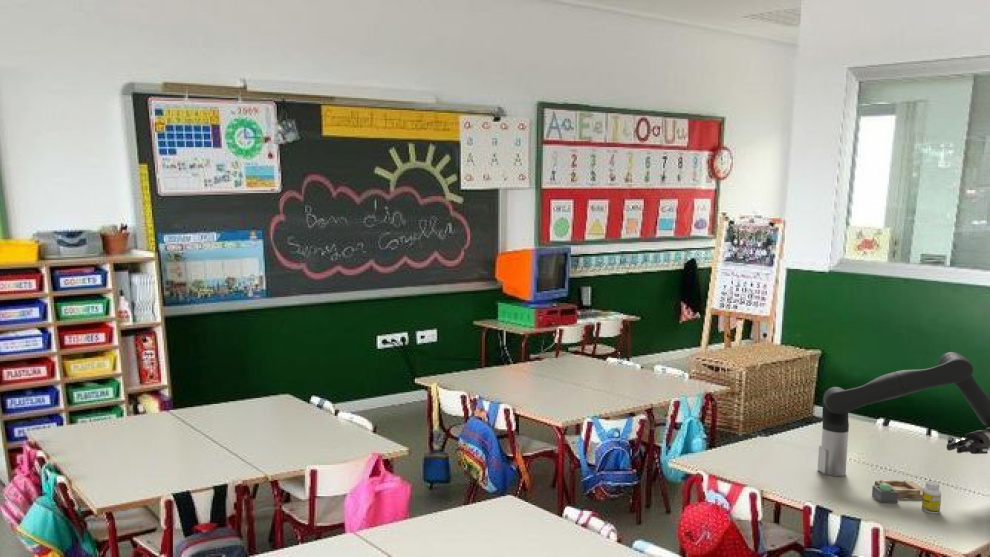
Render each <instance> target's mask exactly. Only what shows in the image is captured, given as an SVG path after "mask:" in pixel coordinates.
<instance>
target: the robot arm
mask: <svg viewBox="0 0 990 557" xmlns="http://www.w3.org/2000/svg"><path fill="white" fill-rule="evenodd" d="M973 373H974V366H973V364H972V363H971V362H970V361H969V360H968V359H967V358H966V357H965V356H963V355H962V354H960V353H958V352H955V351H949V352H945V353H943V354H942V355H941V356H940V357H939V360H938V365H936V366H933V367H928V368H924V369H923V368H921V369H902V370H897V371H893V372H889V373H886V374H882V375H880V376H877V377H875V378H874V379H872V380H870V381H869V382H866V383H865V384H863V385H860V386H856V387H852V388H849V389H844V388H843V387H839V386H832V387H830V388H828V389H827V390H825V392H824V394H823V397H822V418H821V420H822V431H821V445H819V446H818V457H817V458H818V460H817V470H818V472H819V471H820V473H822V474H823V475H826V476H832V477H833V476H834V477H843V476H846V473H847V460H848V458H847V456H848V446H849V445H848V442H849V431H850V430H849V427H850V424H849V413H850V412H851V411H855V410H857V409H860V408H862V407H865V406H867V405H873V404H876V403H880V402H884V401H888V400H889V401H890V400H893V399H897V398H901V397H904V396H907V395H910V394H913V393H918V392H921V391H924V390H928V389H931V388H936V387H940V386H946V385H952V384H955V385H956V387H957V388H958V390H959V391H960V392H961V394H962V395H963V397H964V398H965V400H966V401H967V403H968V404H969V406H970V408H971V409H972V410H973V412H974V413H975V415H976V416H977V418H978V419H979V421H980V422H981V423H982V424H983V425H985V426H986V428H985V429H980V430H979V429H978V430H976V431H975V430H974V431H972V432H968V433H965V434H964V435H963V436H962V438H961V437H960V438H956V439H955V438H954V437H953V436H950V435H949V436H948V437H947V444H946V450H947V451H954V450H956V454H962V453H969V454H972V455H981V454H984V455H986V454H987V455H988V452H990V397H989V396H988V394H987V393H986V392H985V390H983V388H982V387H981V386H980V385H979V384H978V382H977V381H976V379H975V378H974V377H973Z"/></svg>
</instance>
